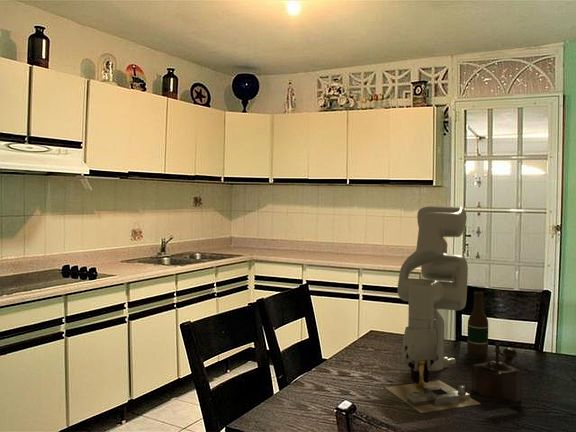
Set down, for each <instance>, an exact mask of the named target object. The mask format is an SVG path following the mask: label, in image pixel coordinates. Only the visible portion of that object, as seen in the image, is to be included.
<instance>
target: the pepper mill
mask: <svg viewBox="0 0 576 432" xmlns="http://www.w3.org/2000/svg"><path fill="white" fill-rule="evenodd" d="M494 347H495V348H494V351H495V359H494V360H489V361H486V362H483V363H476V364H472V366H471V367H472V368H471V391H472V392H473V391H474V392H475V393H477V394H478V395H482V396H484V397H486V398H488V399H490V400H492V401H495V402H502V401H506V400H507V401H508V400H509V401H511V402H513V404H514V403H519V402H521V401H522V384H523V382H522V381H523V370H520V369H518V368H516V367H513V365H514V363H515V361H514V360H515V359H516V358H517V357H518V352H517V350H516V349H514V348H513V347H506V348H504V349H503V351H501V349H500V347H501V345H500V344H499V343H496V344H495V346H494ZM500 356H502V357H504V359H503V360H502V361H500V359H499V358H500Z"/></svg>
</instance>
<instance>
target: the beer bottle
mask: <svg viewBox="0 0 576 432" xmlns="http://www.w3.org/2000/svg"><path fill="white" fill-rule="evenodd" d="M473 296H474V298H473V305H472V306H473V307H472V312H471V314H470V315H469V317H468V320H467V336H466V337H467V342H466V343H467V344H466V345H467V348H466V350H467V351H466V352H467V353H468V354H470V355H472V354H473V355H474V356H481V357H482V356H487V354H488V351H489V319H488V316H487V315H486V314H485V311H484V292H483V291H474V292H473ZM473 355H472V356H473Z"/></svg>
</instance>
